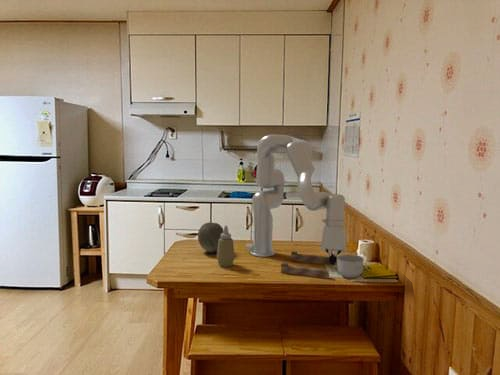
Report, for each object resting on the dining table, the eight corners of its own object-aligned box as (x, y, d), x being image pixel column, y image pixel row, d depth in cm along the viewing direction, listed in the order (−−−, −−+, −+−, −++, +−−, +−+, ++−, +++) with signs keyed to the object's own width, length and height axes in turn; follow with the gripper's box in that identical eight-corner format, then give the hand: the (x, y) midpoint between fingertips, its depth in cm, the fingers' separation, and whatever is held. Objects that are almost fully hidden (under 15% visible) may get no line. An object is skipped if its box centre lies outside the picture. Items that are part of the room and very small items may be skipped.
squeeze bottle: (237, 263, 178) (237, 225, 176) (230, 268, 170) (230, 228, 168) (220, 261, 180) (221, 223, 178) (213, 266, 173) (213, 227, 171)
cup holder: (280, 272, 166) (281, 264, 166) (292, 258, 186) (292, 251, 186) (327, 278, 160) (328, 269, 159) (334, 263, 180) (334, 255, 179)
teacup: (359, 282, 157) (360, 262, 156) (333, 277, 162) (333, 258, 161) (366, 272, 169) (367, 254, 168) (342, 268, 174) (342, 250, 173)
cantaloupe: (230, 250, 198) (231, 222, 196) (213, 257, 186) (213, 227, 185) (209, 246, 206) (209, 218, 204) (191, 252, 194) (191, 223, 192)
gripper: (315, 223, 166) (314, 264, 168) (351, 226, 161) (349, 268, 163) (318, 219, 173) (317, 259, 175) (353, 222, 168) (351, 263, 170)
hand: (332, 264), depth 169 cm, fingers closed
